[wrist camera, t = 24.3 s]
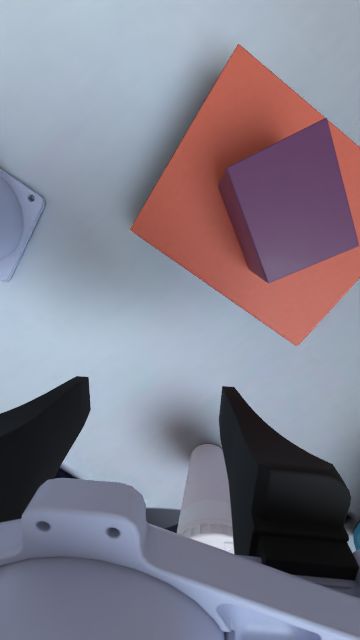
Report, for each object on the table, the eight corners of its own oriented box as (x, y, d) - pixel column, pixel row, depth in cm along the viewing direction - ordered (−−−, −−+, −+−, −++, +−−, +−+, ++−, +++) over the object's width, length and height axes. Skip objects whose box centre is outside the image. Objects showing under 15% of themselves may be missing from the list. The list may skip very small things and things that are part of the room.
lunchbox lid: (419, 205, 17) (427, 204, 16) (294, 343, 20) (297, 347, 20) (236, 49, 15) (238, 42, 14) (131, 229, 18) (129, 229, 18)
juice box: (249, 270, 18) (268, 284, 13) (217, 184, 17) (225, 166, 12) (315, 242, 17) (360, 247, 13) (287, 150, 16) (327, 115, 11)
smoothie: (223, 424, 27) (250, 610, 14) (249, 470, 29) (295, 677, 15) (167, 445, 28) (140, 636, 15) (194, 489, 30) (192, 695, 17)
